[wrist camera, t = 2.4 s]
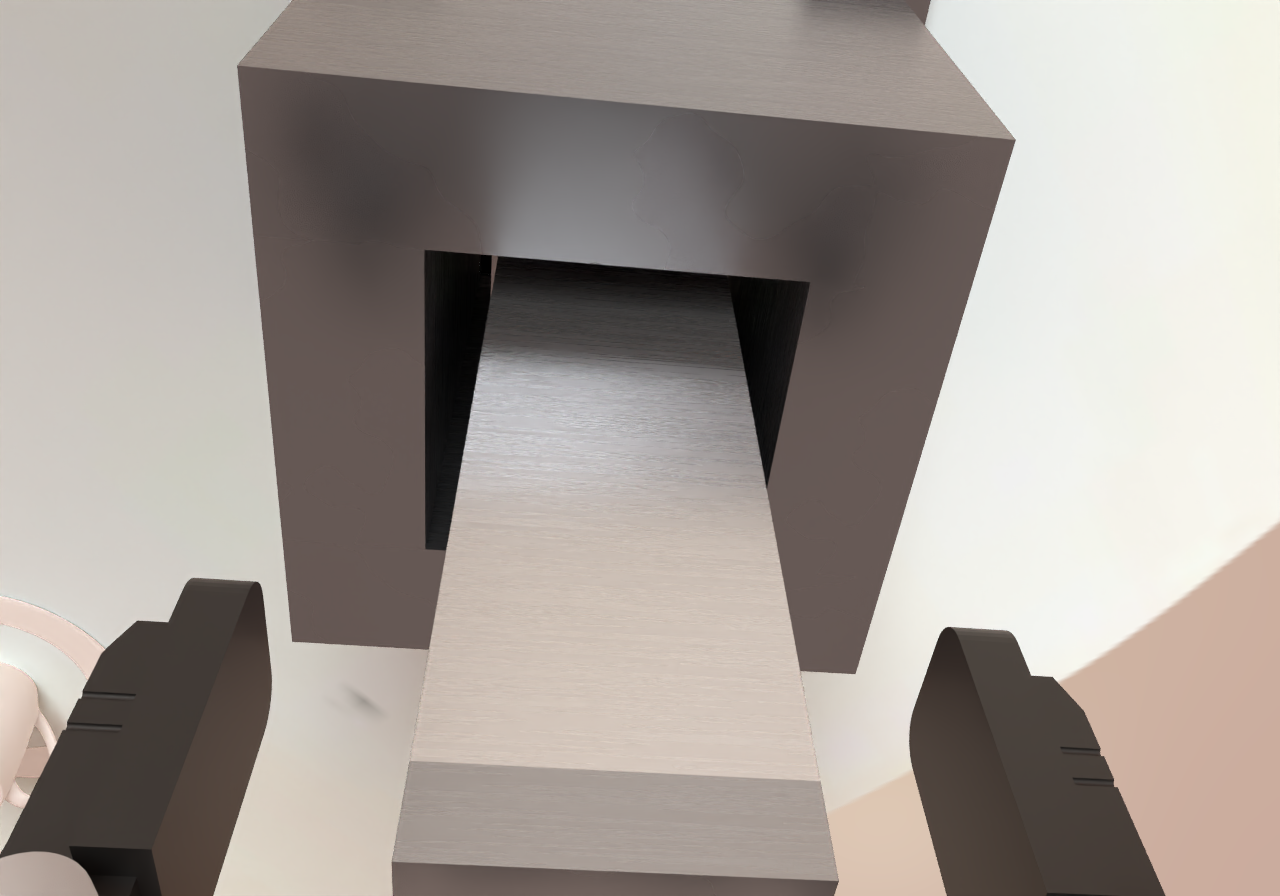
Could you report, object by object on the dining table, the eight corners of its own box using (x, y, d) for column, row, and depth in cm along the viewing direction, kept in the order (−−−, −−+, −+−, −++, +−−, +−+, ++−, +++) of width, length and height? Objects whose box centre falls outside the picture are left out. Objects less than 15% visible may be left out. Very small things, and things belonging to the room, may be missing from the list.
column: (521, 78, 25) (372, 848, 9) (703, 96, 25) (861, 869, 9) (513, 246, 27) (383, 1094, 11) (680, 260, 27) (777, 1106, 12)
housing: (316, -155, 22) (106, 0, 13) (933, -87, 23) (1152, 104, 14) (343, 380, 29) (219, 732, 20) (817, 416, 30) (911, 768, 21)
